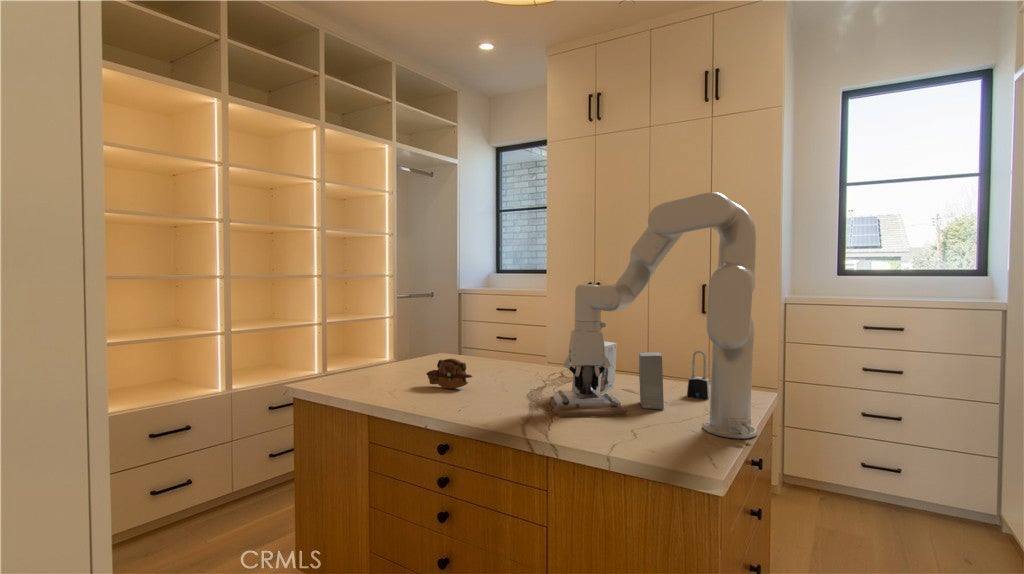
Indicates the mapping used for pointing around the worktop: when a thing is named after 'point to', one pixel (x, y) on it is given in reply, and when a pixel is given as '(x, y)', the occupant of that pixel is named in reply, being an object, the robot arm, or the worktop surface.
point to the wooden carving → (449, 374)
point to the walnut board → (588, 411)
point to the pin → (586, 379)
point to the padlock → (698, 382)
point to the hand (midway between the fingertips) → (586, 388)
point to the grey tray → (584, 400)
